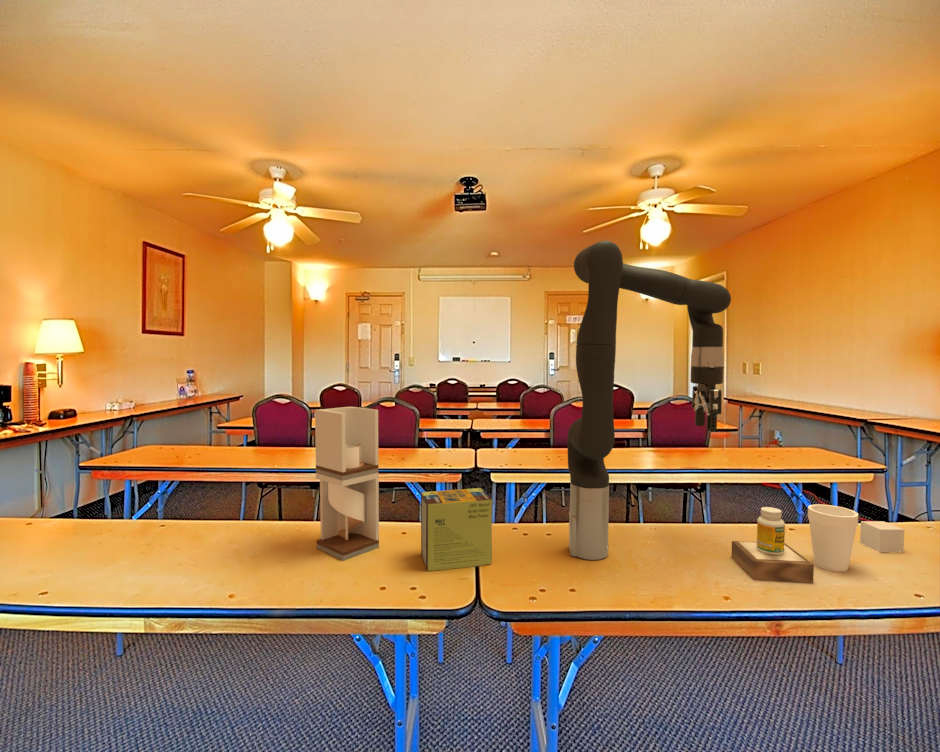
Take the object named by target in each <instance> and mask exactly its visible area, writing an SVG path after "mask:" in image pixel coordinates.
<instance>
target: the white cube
mask: <svg viewBox="0 0 940 752" xmlns="http://www.w3.org/2000/svg"><path fill="white" fill-rule="evenodd" d="M859 536H860V537H859V544H860V543H862V544H864V545H866V546H868V547H870V548H872V549H874V550H876V551H878V552H899V551H900V552H903V553H904V550H905V549H904V547H905V544H904V542H905V529H904V528H902V527H899V526H896V525H895V524H892V523H889V522H886V521H884V520H883V521H881V520H880V521H879V520H872V521H870V520H865V521H863V520H862V521H860V535H859ZM862 544H861V545H862ZM864 545H863V546H864ZM866 546H865V547H866ZM868 547H867V548H868ZM870 548H869V549H870ZM872 549H871V550H872ZM874 550H873V551H874ZM876 551H875V552H876ZM878 552H877V553H878Z"/></svg>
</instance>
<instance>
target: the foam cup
mask: <svg viewBox="0 0 940 752" xmlns="http://www.w3.org/2000/svg"><path fill="white" fill-rule="evenodd" d="M807 518H808V521H809V522H808V523H809V531H810V539H811V548H812V549H811V550H812V554H813V555H812V556H813V557H812V558H813V564H814V565H815V566H817V567H819V568H821V569H824V570H828V571H830V572H831V571H832V572H839V573H840V572H842V573H843V572H844V573H845V572H848V570H849V567H850V562H851V556H852V551H853V546H854V541H855V536H856V533H857V532H856V531H857V527H859V513H858V512H856V511H854V510H853V509H849V508H846V507H843V506H837V505H833V504H832V505H831V504H824V503H822V504H818V503H817V504H811V505H808V507H807Z"/></svg>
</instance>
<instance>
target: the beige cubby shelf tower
mask: <svg viewBox="0 0 940 752" xmlns="http://www.w3.org/2000/svg"><path fill="white" fill-rule="evenodd" d="M314 420H315V421H314V423H315V425H314V427H315V431H314V432H315V433H314V434H315V439H314V440H315V479H316V480H319V494H320V497H319V502H320V503H319V504H320V505H319V506H320V508H319V509H320V514H319V515H320V516H319V517H320V538H319V539H317V540H316V549H318V550H320V551H322V552H324V553H326V554H328V555H330V556H332V557H335V558H336V559H339V560H341V561H343V562H344V561H347V560H349V559H352V558H354V557H357V556H360V555H363V554H365V553H368V552H371V551H373V550H376V549H380V527H379V526H380V515H379V514H380V508H379V506H380V505H379V503H380V501H379V500H380V499H379V498H380V497H379V495H380V494H379V490H380V489H379V486H380V485H379V483H380V482H379V477H380V476H379V473H380V472H379V409H373V408H367V407H357V406H343V407H342V406H341V407H334V408H333V407H331V408H324V409H323V408H320V409H315V410H314Z"/></svg>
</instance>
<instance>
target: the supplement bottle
mask: <svg viewBox="0 0 940 752" xmlns="http://www.w3.org/2000/svg"><path fill="white" fill-rule="evenodd" d="M782 514H783V513H782V510H781V509H779V508H776V507H770V506H763V507H761V508H760V516H759V517H758V518H757V520H756V522H757V523H756V525H757V526H756V542H757V549H758V550H759V551H761V552H763V553H766V554H770V555H782V554H783V553H784V543H785V531H786V529H785V527H786V524H785V521H784V519H782Z"/></svg>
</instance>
